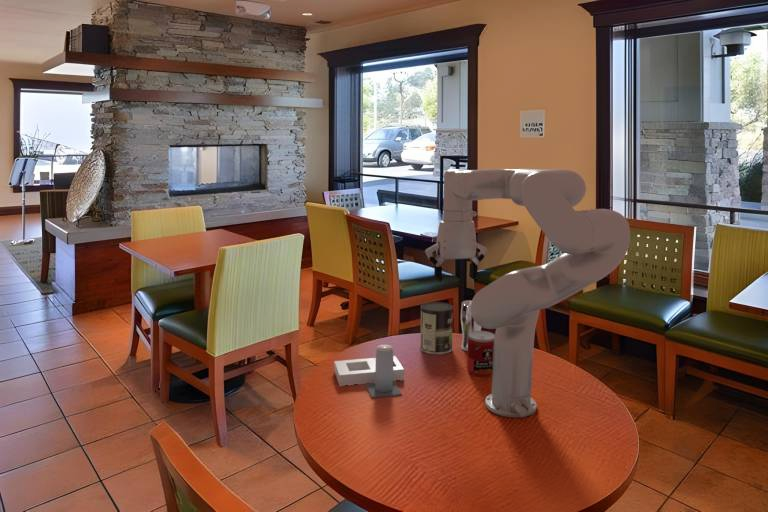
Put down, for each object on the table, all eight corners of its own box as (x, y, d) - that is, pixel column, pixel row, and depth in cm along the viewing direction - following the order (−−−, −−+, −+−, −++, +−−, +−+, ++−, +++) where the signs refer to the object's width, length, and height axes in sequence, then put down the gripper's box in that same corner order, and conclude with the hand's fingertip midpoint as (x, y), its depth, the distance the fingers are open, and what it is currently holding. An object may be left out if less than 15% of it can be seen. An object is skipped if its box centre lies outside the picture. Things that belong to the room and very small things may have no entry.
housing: (404, 380, 157) (404, 369, 156) (339, 386, 153) (339, 375, 152) (395, 366, 166) (395, 356, 166) (334, 371, 162) (334, 361, 162)
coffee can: (453, 344, 184) (454, 302, 181) (450, 356, 174) (451, 312, 171) (422, 342, 186) (422, 300, 183) (417, 353, 176) (418, 310, 173)
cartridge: (389, 384, 153) (390, 343, 151) (394, 391, 149) (395, 349, 146) (373, 385, 152) (374, 344, 150) (377, 393, 147) (378, 350, 145)
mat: (401, 395, 147) (401, 393, 147) (371, 398, 146) (371, 396, 146) (394, 382, 155) (394, 381, 155) (365, 385, 153) (365, 384, 153)
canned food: (474, 378, 158) (475, 341, 155) (462, 367, 165) (463, 331, 163) (499, 375, 160) (500, 338, 158) (486, 364, 167) (488, 329, 165)
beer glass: (455, 346, 182) (456, 301, 179) (473, 343, 185) (475, 299, 182) (467, 353, 176) (468, 307, 173) (486, 350, 179) (487, 304, 176)
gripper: (482, 213, 155) (480, 274, 158) (422, 215, 151) (421, 277, 155) (493, 217, 148) (491, 280, 151) (430, 219, 144) (429, 284, 147)
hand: (455, 279), depth 153 cm, fingers open, 9 cm apart
